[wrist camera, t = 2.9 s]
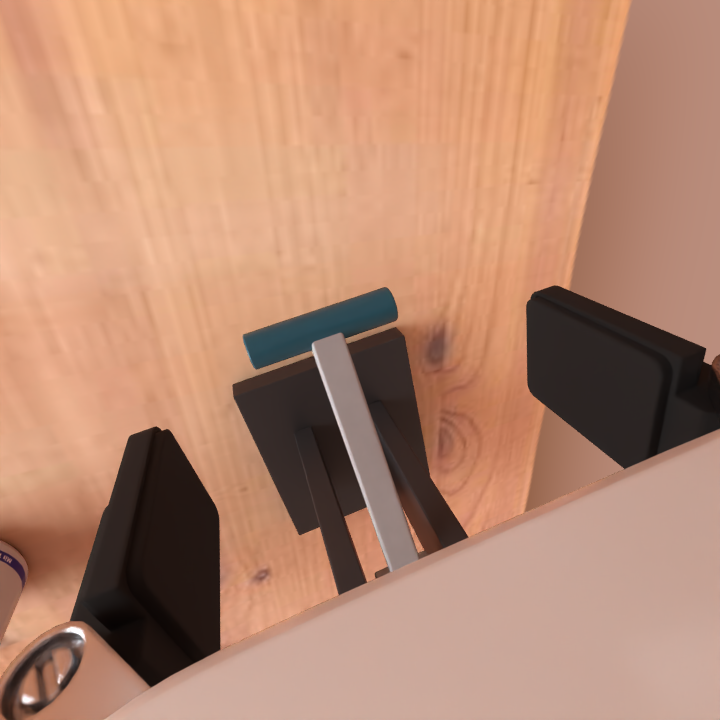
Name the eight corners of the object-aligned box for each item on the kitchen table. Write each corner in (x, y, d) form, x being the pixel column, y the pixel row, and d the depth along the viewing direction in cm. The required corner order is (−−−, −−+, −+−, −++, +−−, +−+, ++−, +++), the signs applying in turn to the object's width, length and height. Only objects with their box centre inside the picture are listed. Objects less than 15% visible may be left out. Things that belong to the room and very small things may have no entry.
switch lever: (245, 334, 15) (238, 335, 12) (377, 290, 15) (395, 283, 13) (362, 649, 16) (376, 703, 14) (476, 595, 17) (507, 637, 15)
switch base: (232, 384, 21) (254, 645, 10) (395, 326, 22) (567, 503, 12) (296, 520, 27) (353, 779, 16) (423, 468, 28) (554, 674, 17)
